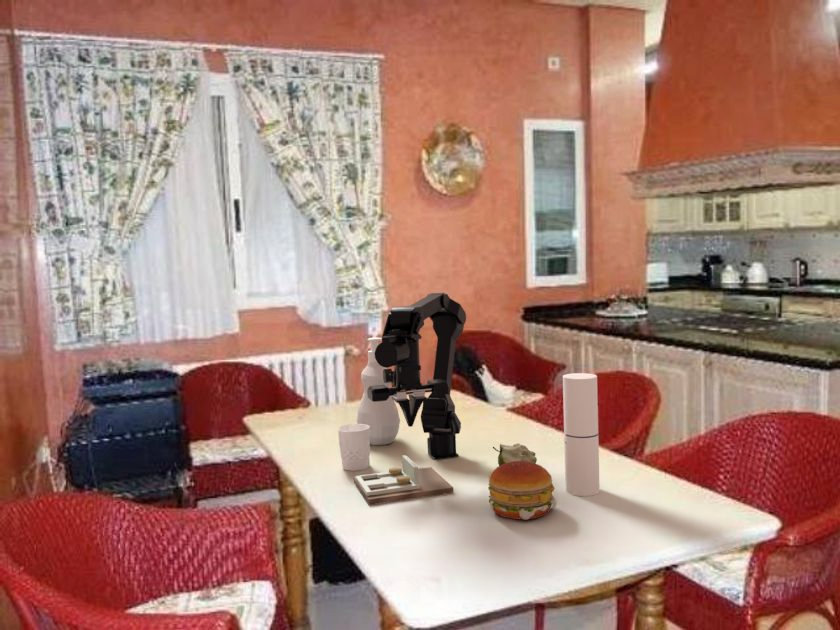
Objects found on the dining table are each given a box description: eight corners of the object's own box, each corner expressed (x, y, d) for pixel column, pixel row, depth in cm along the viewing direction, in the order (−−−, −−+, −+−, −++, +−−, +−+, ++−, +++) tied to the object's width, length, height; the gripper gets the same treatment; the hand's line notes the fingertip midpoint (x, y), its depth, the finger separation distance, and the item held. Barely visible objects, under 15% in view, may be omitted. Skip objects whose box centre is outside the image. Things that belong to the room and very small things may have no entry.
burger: (486, 501, 150) (484, 454, 149) (551, 499, 149) (549, 452, 149) (490, 525, 137) (488, 474, 136) (561, 523, 136) (560, 472, 135)
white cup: (366, 472, 173) (364, 431, 172) (335, 471, 175) (333, 431, 174) (375, 462, 181) (373, 423, 180) (345, 461, 183) (343, 423, 182)
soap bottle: (409, 445, 195) (404, 339, 193) (369, 451, 191) (363, 343, 189) (388, 432, 211) (383, 333, 208) (351, 437, 207) (345, 337, 204)
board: (431, 472, 171) (430, 458, 171) (453, 492, 156) (452, 477, 155) (353, 482, 166) (352, 468, 165) (368, 505, 150) (367, 489, 150)
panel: (405, 472, 167) (404, 454, 167) (420, 488, 156) (419, 468, 155) (355, 479, 164) (354, 460, 163) (366, 495, 152) (365, 475, 152)
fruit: (491, 480, 167) (486, 446, 168) (512, 473, 174) (508, 440, 175) (525, 479, 161) (519, 443, 162) (545, 472, 169) (540, 438, 169)
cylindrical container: (580, 498, 149) (577, 380, 147) (558, 489, 155) (555, 375, 153) (606, 491, 152) (604, 376, 150) (584, 483, 158) (581, 371, 156)
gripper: (434, 353, 177) (437, 415, 178) (361, 359, 171) (364, 423, 173) (449, 359, 166) (452, 424, 167) (371, 365, 161) (374, 433, 162)
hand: (410, 426), depth 168 cm, fingers closed
